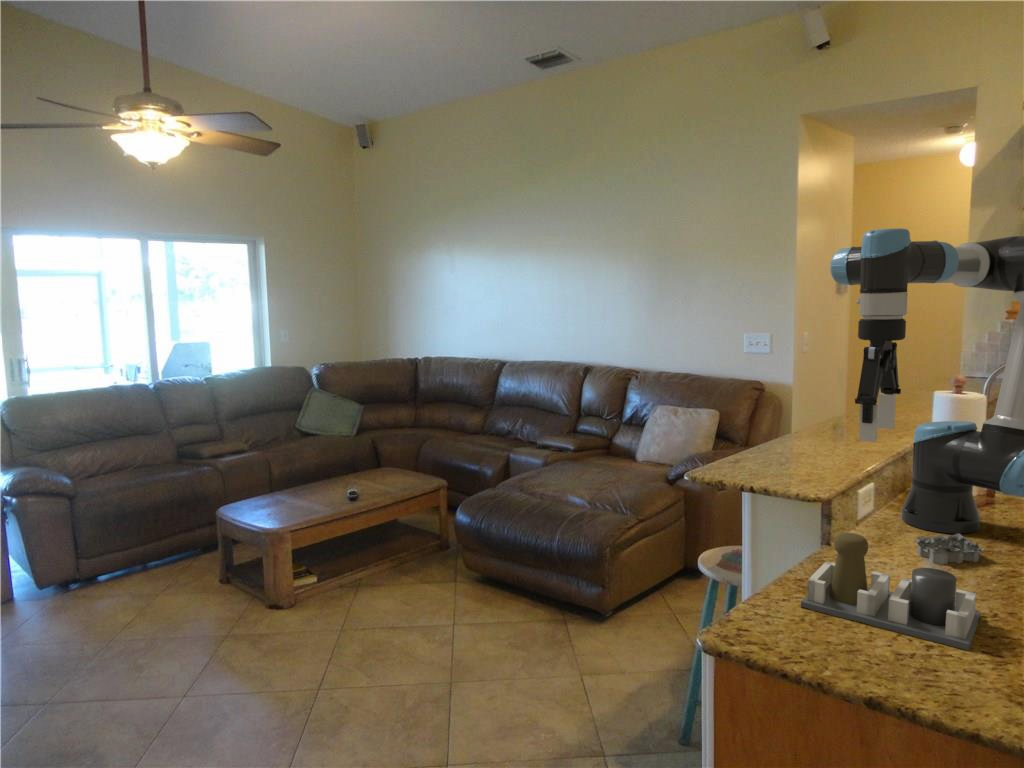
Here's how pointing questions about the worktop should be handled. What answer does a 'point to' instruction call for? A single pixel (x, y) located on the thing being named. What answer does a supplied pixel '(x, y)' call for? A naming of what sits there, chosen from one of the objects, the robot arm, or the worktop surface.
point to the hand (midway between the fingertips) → (877, 434)
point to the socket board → (904, 605)
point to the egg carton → (948, 549)
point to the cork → (849, 568)
